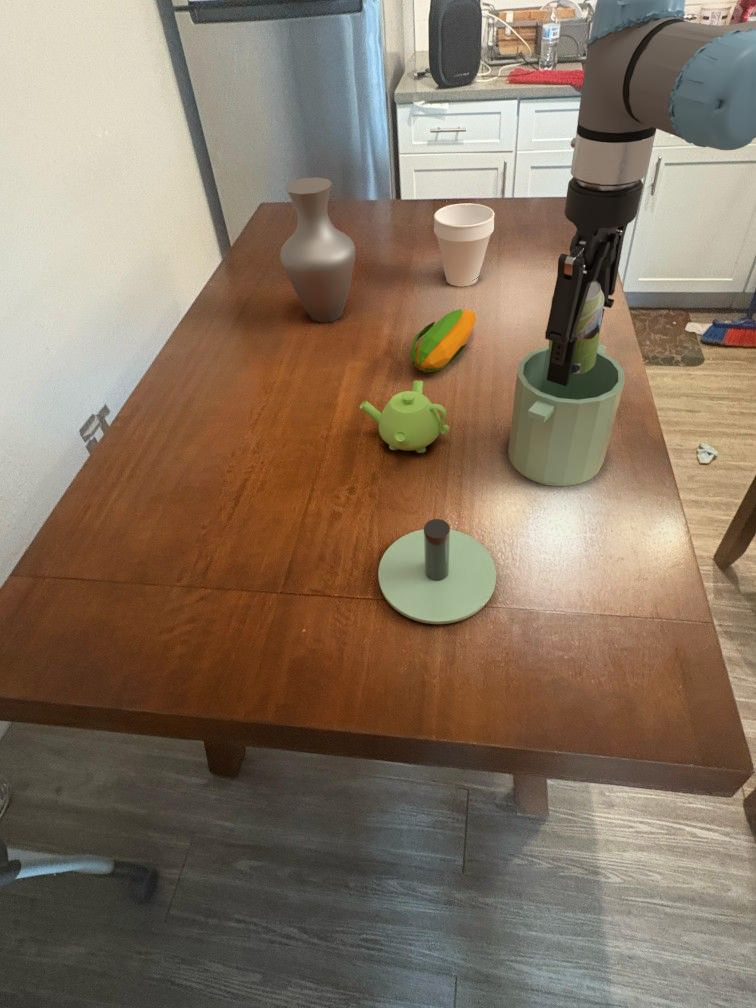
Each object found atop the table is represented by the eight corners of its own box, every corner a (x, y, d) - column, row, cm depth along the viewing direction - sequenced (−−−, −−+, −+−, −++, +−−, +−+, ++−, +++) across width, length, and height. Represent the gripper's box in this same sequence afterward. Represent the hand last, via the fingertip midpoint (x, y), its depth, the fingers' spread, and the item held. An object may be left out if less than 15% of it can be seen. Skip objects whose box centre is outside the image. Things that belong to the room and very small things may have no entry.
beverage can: (599, 361, 81) (618, 274, 72) (582, 390, 77) (600, 301, 68) (553, 350, 83) (567, 265, 75) (534, 378, 79) (546, 291, 71)
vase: (318, 340, 118) (297, 206, 100) (278, 315, 126) (252, 186, 108) (375, 314, 124) (365, 182, 106) (334, 291, 132) (318, 165, 114)
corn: (399, 337, 102) (455, 287, 113) (398, 374, 107) (452, 323, 119) (438, 350, 99) (491, 297, 110) (435, 388, 105) (486, 334, 116)
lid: (517, 565, 76) (524, 515, 70) (455, 648, 69) (457, 601, 62) (421, 518, 83) (420, 468, 77) (355, 589, 75) (347, 541, 69)
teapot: (460, 445, 93) (462, 400, 87) (398, 474, 90) (395, 429, 84) (420, 409, 100) (419, 365, 94) (360, 435, 97) (355, 391, 91)
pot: (624, 436, 92) (648, 352, 82) (570, 511, 82) (589, 427, 72) (542, 407, 98) (554, 326, 88) (482, 474, 88) (488, 392, 78)
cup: (423, 275, 134) (422, 211, 125) (471, 262, 137) (474, 198, 128) (451, 297, 126) (452, 231, 116) (501, 283, 129) (507, 216, 120)
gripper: (610, 146, 70) (577, 325, 86) (528, 204, 59) (508, 396, 76) (676, 154, 67) (628, 339, 83) (601, 218, 56) (564, 416, 72)
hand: (571, 366), depth 79 cm, fingers closed on beverage can, 7 cm apart
